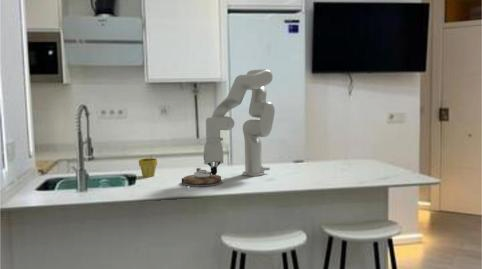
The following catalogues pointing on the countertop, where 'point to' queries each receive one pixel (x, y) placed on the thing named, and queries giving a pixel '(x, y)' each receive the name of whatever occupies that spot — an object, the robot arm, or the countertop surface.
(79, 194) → the countertop surface
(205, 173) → the cover
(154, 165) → the plant pot
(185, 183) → the turntable base
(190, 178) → the turntable
